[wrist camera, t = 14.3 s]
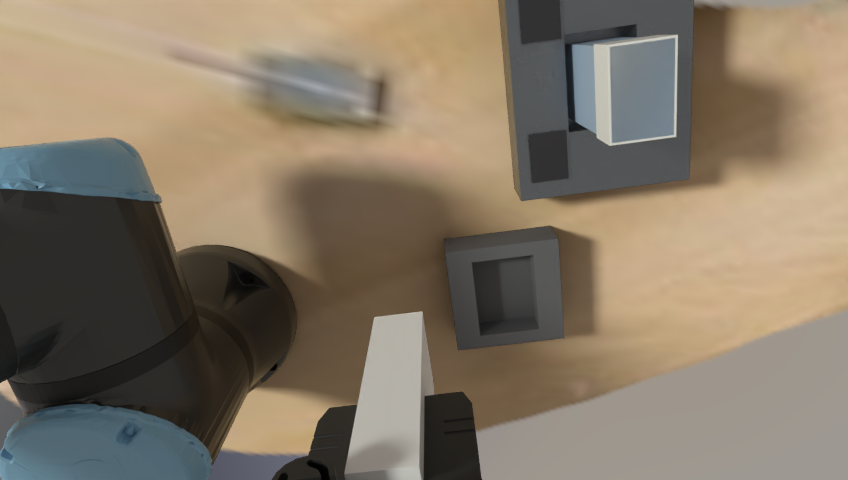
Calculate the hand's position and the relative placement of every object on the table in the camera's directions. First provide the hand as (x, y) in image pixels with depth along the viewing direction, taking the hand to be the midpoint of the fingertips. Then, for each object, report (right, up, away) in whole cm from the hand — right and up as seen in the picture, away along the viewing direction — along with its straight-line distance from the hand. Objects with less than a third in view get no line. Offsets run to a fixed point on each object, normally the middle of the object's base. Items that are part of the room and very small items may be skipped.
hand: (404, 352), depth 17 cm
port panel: (+15, +17, +30) cm, 38 cm away
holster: (+8, 0, +37) cm, 38 cm away
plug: (+15, +17, +29) cm, 37 cm away
